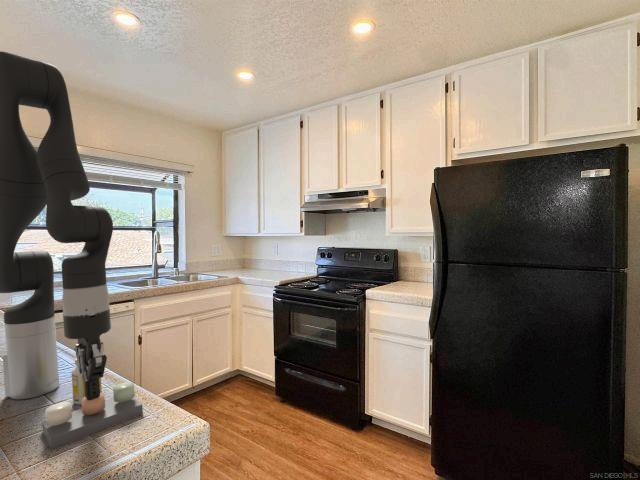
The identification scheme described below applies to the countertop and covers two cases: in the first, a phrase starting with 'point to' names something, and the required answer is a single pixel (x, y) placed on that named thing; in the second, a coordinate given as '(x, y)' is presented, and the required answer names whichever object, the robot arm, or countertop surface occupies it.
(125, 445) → the countertop surface
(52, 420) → the cream button
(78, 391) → the supplement bottle
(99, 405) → the terracotta button
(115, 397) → the sage button
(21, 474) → the countertop surface
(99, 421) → the button panel
